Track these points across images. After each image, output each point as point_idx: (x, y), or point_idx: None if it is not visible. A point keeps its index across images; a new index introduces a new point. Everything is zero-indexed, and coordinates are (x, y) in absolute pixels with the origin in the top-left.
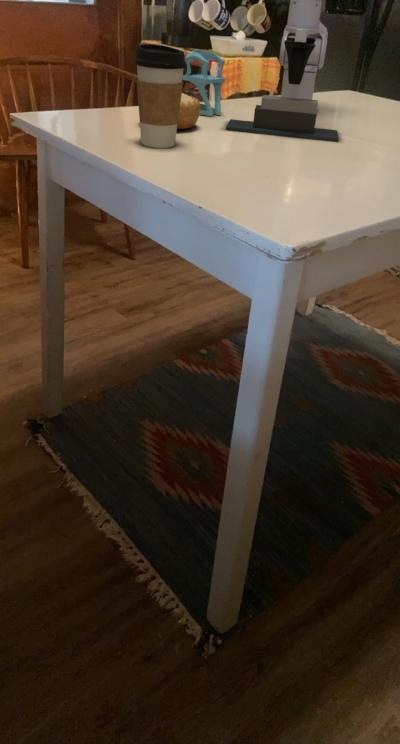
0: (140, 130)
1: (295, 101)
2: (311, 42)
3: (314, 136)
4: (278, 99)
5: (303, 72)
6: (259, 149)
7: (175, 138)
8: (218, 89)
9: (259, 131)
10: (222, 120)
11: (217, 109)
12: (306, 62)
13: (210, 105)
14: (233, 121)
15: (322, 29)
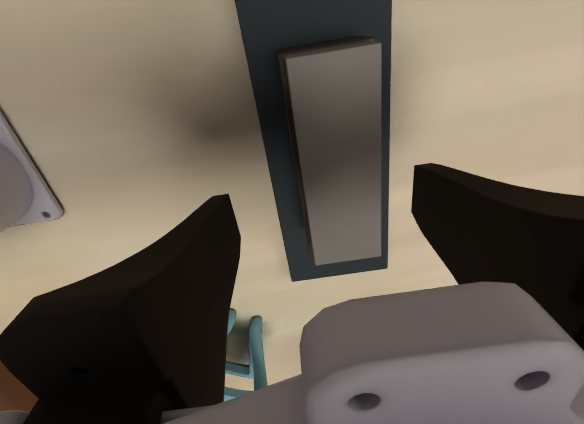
0: None
1: (380, 147)
2: (155, 309)
3: (390, 26)
4: (380, 208)
5: (473, 176)
6: (570, 155)
7: None
8: None
9: (387, 197)
10: (281, 292)
11: (233, 324)
12: (540, 192)
13: (257, 340)
14: (316, 270)
15: (580, 358)
